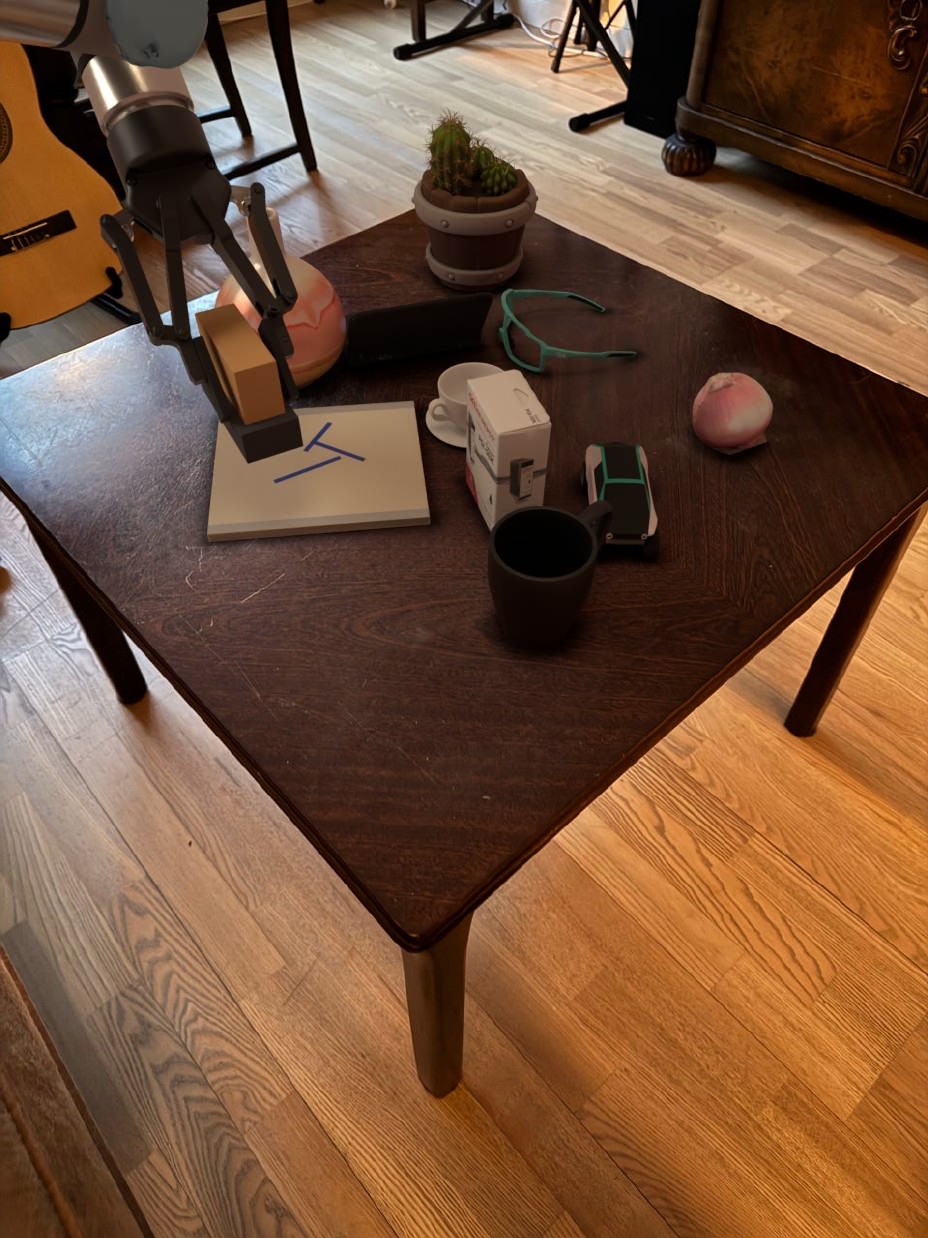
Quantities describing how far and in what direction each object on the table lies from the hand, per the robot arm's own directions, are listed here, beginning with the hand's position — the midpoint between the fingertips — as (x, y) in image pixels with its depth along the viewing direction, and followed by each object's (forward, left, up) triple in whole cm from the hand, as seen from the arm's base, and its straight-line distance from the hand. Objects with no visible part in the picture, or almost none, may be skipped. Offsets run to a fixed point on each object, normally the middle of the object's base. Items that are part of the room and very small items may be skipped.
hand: (259, 408), depth 72 cm
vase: (0, +23, -12) cm, 26 cm away
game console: (+14, +27, -12) cm, 33 cm away
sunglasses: (+32, +26, -12) cm, 42 cm away
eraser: (-1, +3, -3) cm, 5 cm away
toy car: (+31, -4, -12) cm, 33 cm away
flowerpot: (+24, +43, -12) cm, 50 cm away
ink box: (+21, -1, -12) cm, 24 cm away
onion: (+45, +6, -12) cm, 46 cm away
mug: (+23, -15, -12) cm, 30 cm away
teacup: (+20, +12, -12) cm, 26 cm away
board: (+4, +6, -12) cm, 14 cm away
